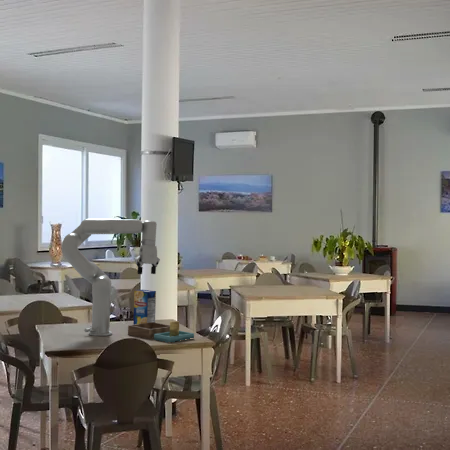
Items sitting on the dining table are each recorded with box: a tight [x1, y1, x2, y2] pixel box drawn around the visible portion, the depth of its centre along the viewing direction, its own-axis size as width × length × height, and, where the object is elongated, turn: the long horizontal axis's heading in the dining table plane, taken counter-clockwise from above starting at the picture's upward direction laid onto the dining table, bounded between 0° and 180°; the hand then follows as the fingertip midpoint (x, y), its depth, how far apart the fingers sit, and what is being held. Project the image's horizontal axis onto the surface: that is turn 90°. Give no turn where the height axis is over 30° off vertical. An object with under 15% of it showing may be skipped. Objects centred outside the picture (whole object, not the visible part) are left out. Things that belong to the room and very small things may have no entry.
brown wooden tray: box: [127, 322, 170, 340], centre depth 351 cm, size 18×18×5 cm
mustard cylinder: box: [169, 320, 180, 337], centre depth 340 cm, size 5×5×8 cm
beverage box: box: [132, 289, 157, 325], centre depth 373 cm, size 7×11×22 cm, turn 53°
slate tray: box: [153, 330, 195, 343], centre depth 340 cm, size 18×12×3 cm, turn 139°
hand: (146, 274), depth 352 cm, fingers open, 9 cm apart
